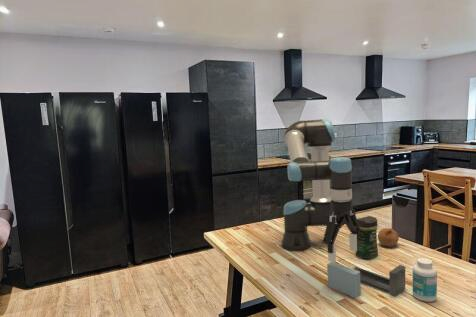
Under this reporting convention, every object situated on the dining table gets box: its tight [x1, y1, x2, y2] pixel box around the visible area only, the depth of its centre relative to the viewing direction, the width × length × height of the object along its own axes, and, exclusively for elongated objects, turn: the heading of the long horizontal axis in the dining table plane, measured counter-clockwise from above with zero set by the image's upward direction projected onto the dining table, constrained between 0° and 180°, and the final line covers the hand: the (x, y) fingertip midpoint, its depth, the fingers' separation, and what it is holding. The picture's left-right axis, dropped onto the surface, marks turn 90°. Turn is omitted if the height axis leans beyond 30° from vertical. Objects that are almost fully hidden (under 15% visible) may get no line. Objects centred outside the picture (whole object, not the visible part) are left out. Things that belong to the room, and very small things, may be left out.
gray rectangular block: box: [326, 261, 362, 299], centre depth 120 cm, size 12×3×9 cm, turn 38°
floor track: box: [353, 264, 406, 297], centre depth 124 cm, size 20×8×9 cm, turn 38°
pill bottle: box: [412, 257, 438, 303], centre depth 112 cm, size 8×7×14 cm
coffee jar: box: [355, 215, 379, 260], centre depth 148 cm, size 10×8×19 cm
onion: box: [377, 227, 400, 248], centre depth 158 cm, size 10×9×10 cm
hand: (343, 255), depth 118 cm, fingers open, 13 cm apart
